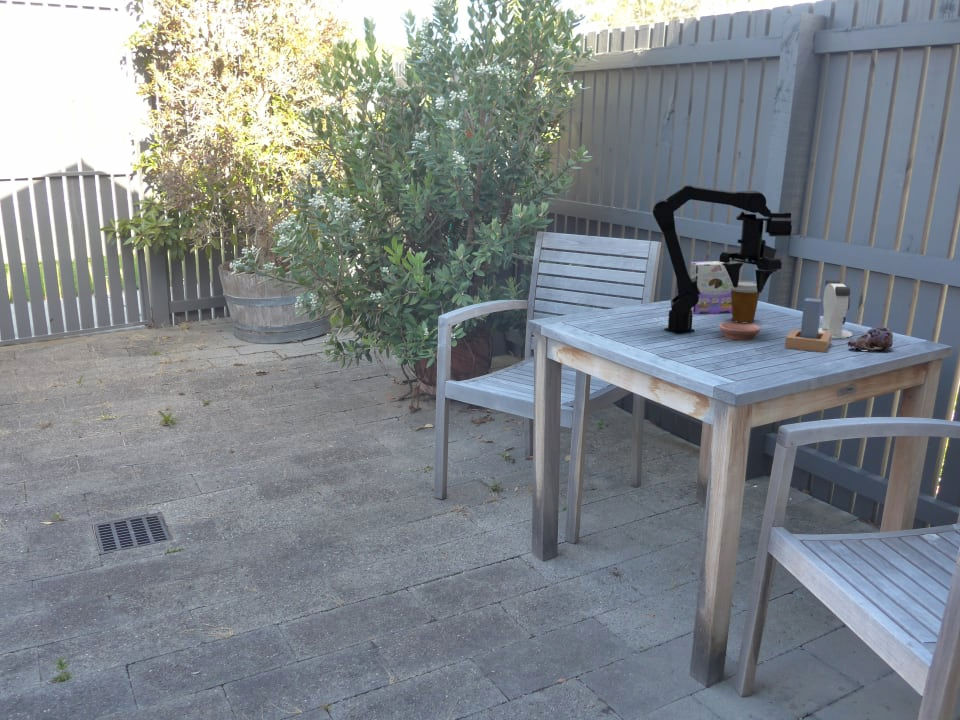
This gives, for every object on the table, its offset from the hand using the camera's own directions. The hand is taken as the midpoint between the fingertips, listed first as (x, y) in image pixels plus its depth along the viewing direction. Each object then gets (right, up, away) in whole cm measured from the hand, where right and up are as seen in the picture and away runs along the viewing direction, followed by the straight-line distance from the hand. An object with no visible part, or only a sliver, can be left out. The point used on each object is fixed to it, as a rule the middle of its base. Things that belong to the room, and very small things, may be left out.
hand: (747, 290), depth 243 cm
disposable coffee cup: (+5, -8, +19) cm, 21 cm away
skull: (+29, -18, -14) cm, 36 cm away
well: (+14, -16, -10) cm, 24 cm away
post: (+14, -16, -10) cm, 24 cm away
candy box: (-2, -5, +32) cm, 33 cm away
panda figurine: (+26, -13, +3) cm, 29 cm away
